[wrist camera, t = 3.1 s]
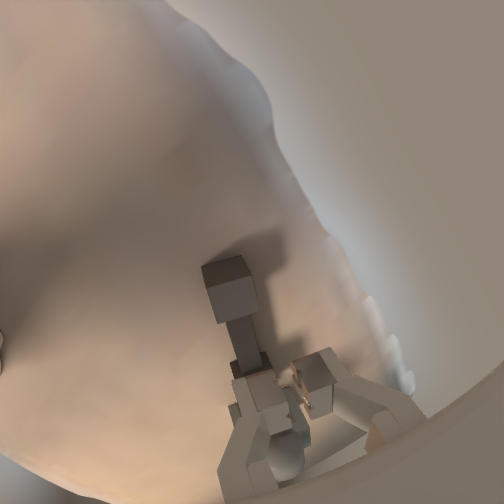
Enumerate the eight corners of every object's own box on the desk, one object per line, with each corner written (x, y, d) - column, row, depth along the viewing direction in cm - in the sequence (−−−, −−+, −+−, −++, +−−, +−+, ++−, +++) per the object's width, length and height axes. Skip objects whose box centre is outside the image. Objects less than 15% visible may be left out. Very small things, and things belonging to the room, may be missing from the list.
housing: (228, 406, 39) (249, 475, 29) (289, 386, 40) (321, 451, 30) (237, 426, 42) (257, 489, 32) (293, 408, 43) (321, 467, 33)
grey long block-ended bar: (198, 267, 29) (204, 292, 25) (243, 254, 30) (256, 277, 26) (240, 393, 38) (248, 419, 35) (272, 383, 39) (283, 408, 35)
